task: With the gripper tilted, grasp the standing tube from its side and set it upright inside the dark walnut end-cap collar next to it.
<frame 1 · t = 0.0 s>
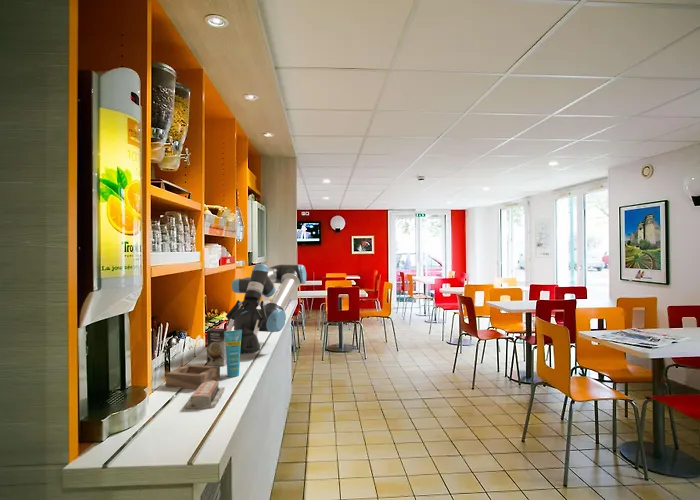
hand: (241, 333, 189), 15 cm above the counter, tool tilted 35°, fingers open, 13 cm apart
coffee box: (218, 364, 195), on the counter
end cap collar: (193, 382, 167), on the counter
tube: (233, 375, 176), on the counter
packaged product: (206, 400, 149), on the counter
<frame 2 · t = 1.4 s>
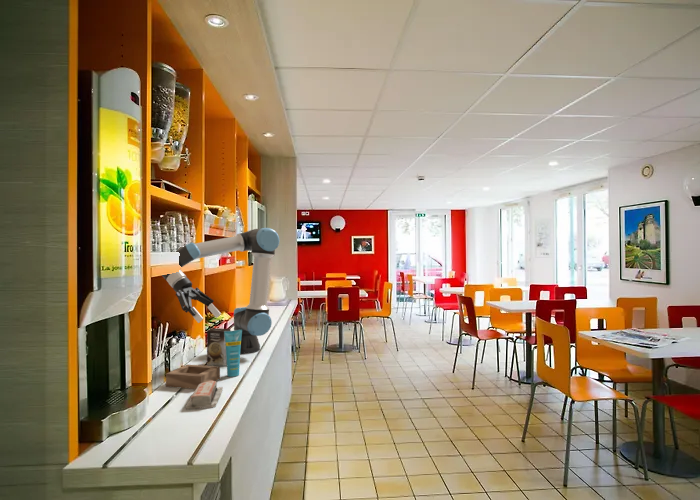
hand: (210, 318, 179), 24 cm above the counter, tool tilted 45°, fingers open, 13 cm apart
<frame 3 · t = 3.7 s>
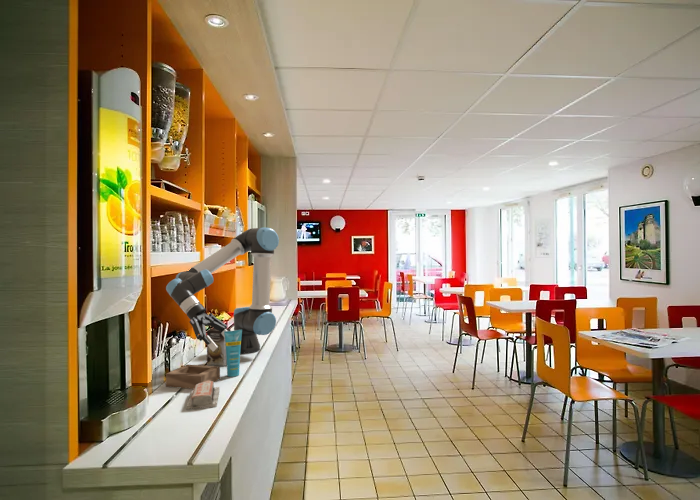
hand: (224, 345, 176), 13 cm above the counter, tool tilted 45°, fingers open, 13 cm apart
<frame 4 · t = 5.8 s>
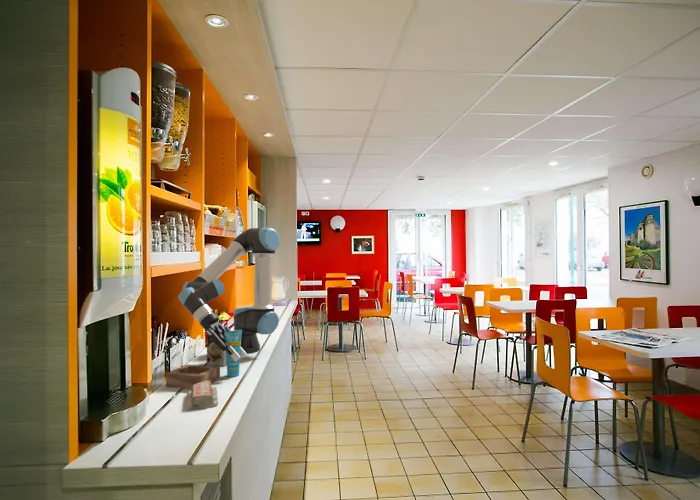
hand: (241, 357, 175), 8 cm above the counter, tool tilted 45°, fingers closed on tube, 5 cm apart
tube: (233, 375, 176), on the counter, touching gripper
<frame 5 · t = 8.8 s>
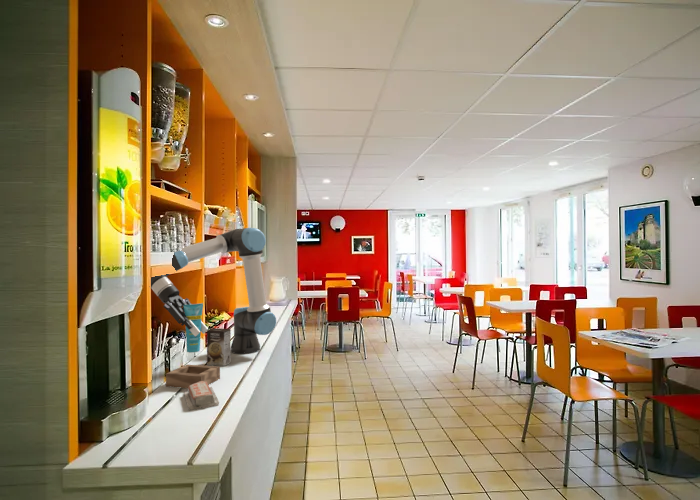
hand: (201, 332, 166), 20 cm above the counter, tool tilted 45°, fingers closed on tube, 5 cm apart
tube: (193, 351, 167), point 12 cm above the counter, touching gripper
when the fingers open (9 cm above the counter, at t = 11.6 s): tube drops 1 cm, resting in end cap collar.
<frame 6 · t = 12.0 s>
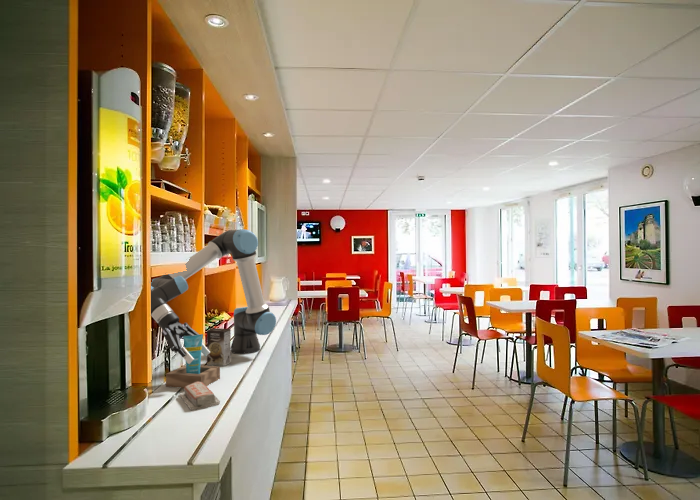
hand: (199, 357, 167), 10 cm above the counter, tool tilted 45°, fingers open, 10 cm apart
tube: (193, 383, 167), resting in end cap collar
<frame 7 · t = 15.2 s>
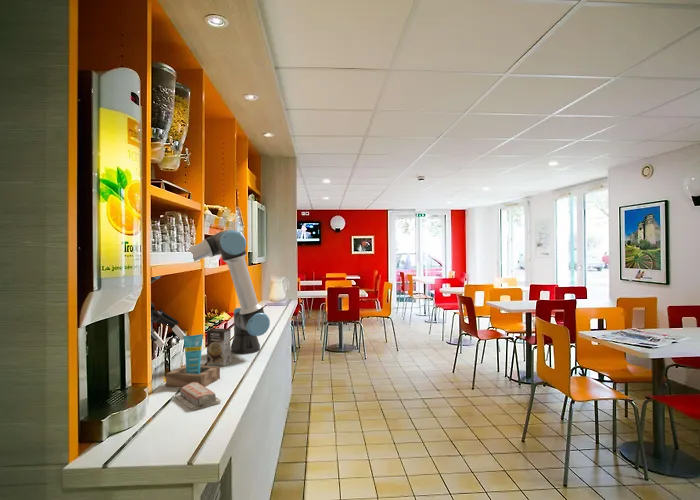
hand: (173, 341, 172), 15 cm above the counter, tool tilted 45°, fingers open, 13 cm apart
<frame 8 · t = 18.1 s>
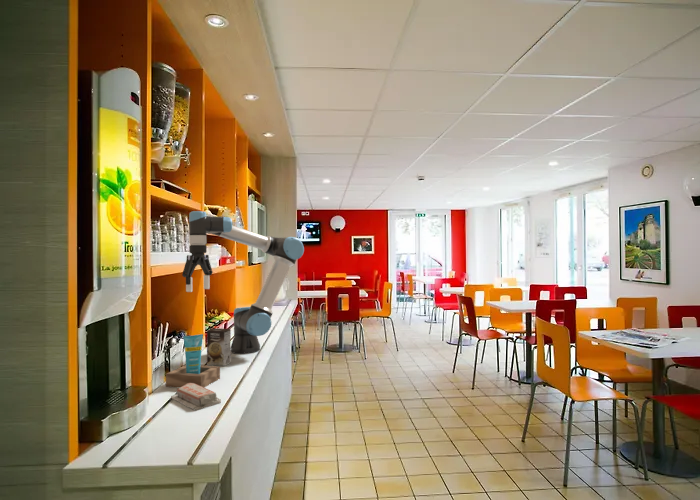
hand: (198, 290, 193), 35 cm above the counter, tool pointing down, fingers open, 13 cm apart
at the end: tube 0.0 cm off-centre on the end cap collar, point 0.0 cm above the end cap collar's base; tube tilted 0°; the gripper is holding nothing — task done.
